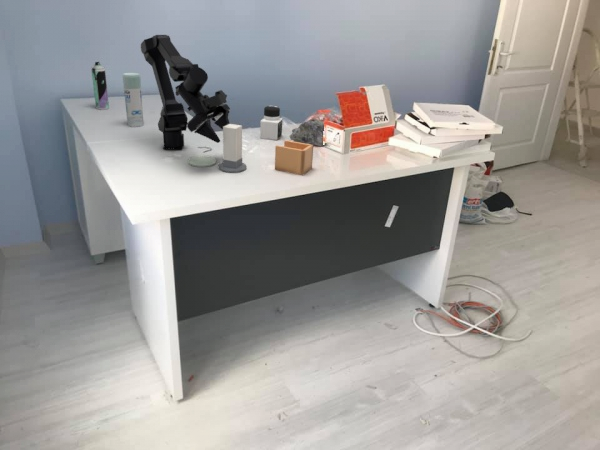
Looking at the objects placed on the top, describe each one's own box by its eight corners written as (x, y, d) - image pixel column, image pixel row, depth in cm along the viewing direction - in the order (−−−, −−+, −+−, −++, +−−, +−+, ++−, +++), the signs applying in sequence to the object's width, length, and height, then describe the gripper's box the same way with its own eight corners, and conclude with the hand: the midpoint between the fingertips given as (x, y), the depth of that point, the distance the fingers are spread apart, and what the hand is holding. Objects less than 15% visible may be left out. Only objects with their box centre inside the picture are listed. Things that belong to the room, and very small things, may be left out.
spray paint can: (146, 126, 201) (142, 75, 192) (130, 127, 197) (125, 75, 189) (141, 122, 206) (136, 72, 197) (125, 123, 202) (120, 73, 194)
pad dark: (218, 172, 157) (218, 170, 157) (218, 163, 165) (218, 160, 165) (246, 172, 159) (246, 170, 158) (246, 163, 167) (246, 161, 166)
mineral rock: (287, 142, 192) (289, 116, 188) (305, 137, 200) (306, 112, 195) (314, 150, 185) (316, 123, 181) (331, 144, 193) (333, 118, 188)
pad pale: (187, 166, 161) (187, 164, 160) (189, 157, 169) (189, 155, 168) (215, 167, 162) (215, 164, 161) (216, 158, 170) (216, 156, 169)
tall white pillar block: (223, 166, 160) (222, 126, 155) (229, 162, 164) (229, 123, 159) (235, 168, 159) (235, 128, 153) (242, 164, 163) (242, 125, 157)
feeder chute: (311, 168, 166) (313, 144, 163) (302, 175, 160) (304, 151, 156) (284, 162, 170) (285, 140, 166) (274, 169, 163) (275, 146, 159)
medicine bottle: (277, 140, 193) (278, 109, 188) (259, 138, 194) (260, 107, 189) (281, 135, 200) (283, 105, 194) (264, 133, 201) (265, 104, 195)
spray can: (106, 110, 221) (101, 63, 212) (94, 109, 221) (88, 62, 212) (110, 107, 226) (106, 61, 217) (98, 106, 226) (93, 60, 217)
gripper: (194, 87, 145) (228, 130, 147) (224, 78, 161) (254, 117, 163) (172, 110, 151) (205, 151, 152) (203, 99, 167) (233, 136, 168)
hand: (226, 138), depth 159 cm, fingers open, 9 cm apart
